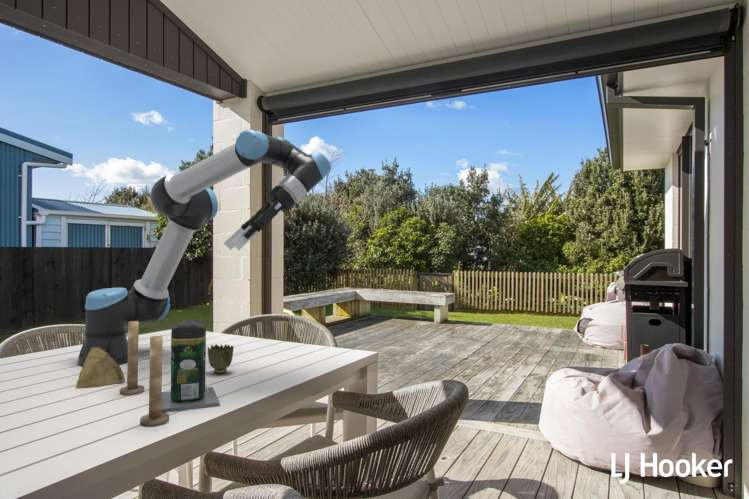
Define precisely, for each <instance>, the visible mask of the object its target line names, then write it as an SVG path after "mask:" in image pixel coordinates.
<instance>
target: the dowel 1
mask: <svg viewBox="0 0 749 499" xmlns="http://www.w3.org/2000/svg"><path fill="white" fill-rule="evenodd" d="M139 328H140V324H139V321H130V322H128V326H127V335H128V336H127V340H128V362H127V372H126V373H127V374H126V375H127V378H126V380H127V381H126V386H123V387H121V388H120V389H119V395H121V396H135V395H140V394H143V393H144V392H145V385H139V384H138V382H139V381H138V380H139V379H138V378H139V377H138V376H139V339H140V338H139V336H140V334H139V332H140V329H139Z"/></svg>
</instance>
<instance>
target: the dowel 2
mask: <svg viewBox="0 0 749 499" xmlns="http://www.w3.org/2000/svg"><path fill="white" fill-rule="evenodd" d="M163 339H164V338H163V336H162V335H154V336H150V338H149V375H148V376H149V380H148V381H149V384H148V413H147V414H144V415H143V416H141V417H140V420H139V424H140V426H142V427H148V428H149V427H151V428H152V427H157V426H162V425H165V424H167V423H169V421H170V414H169V413H168V412H163V413H161V395H162V392H163V391H162V390H163V389H162V388H163V387H162V385H163V383H162V382H163V378H162V377H163Z"/></svg>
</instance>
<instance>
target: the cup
mask: <svg viewBox="0 0 749 499" xmlns="http://www.w3.org/2000/svg"><path fill="white" fill-rule="evenodd" d="M234 347H235V345H230V344H224V345H223V344H221V345H218V344H215V345H212V344H211V345H210V347H209V346H208V347H207V357H208V364H209V365H210V367H211V368H213V373H214V374H216V375H224V374H226V373H227V368H228V367H230V366H231V363H232V362H233V356H234Z"/></svg>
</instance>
